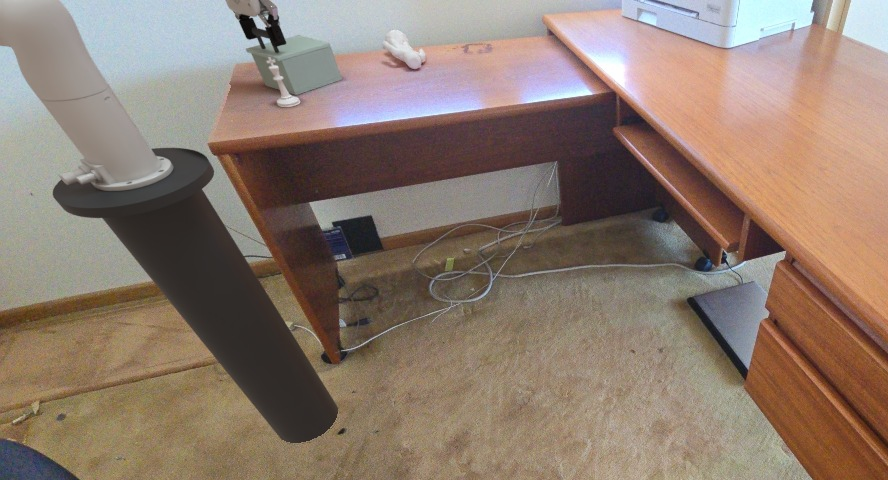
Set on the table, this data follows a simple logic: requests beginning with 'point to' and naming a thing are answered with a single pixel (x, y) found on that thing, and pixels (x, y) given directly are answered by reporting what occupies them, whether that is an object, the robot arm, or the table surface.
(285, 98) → the chess piece
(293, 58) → the gray-green box
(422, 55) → the figure
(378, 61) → the table surface
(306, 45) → the lid
